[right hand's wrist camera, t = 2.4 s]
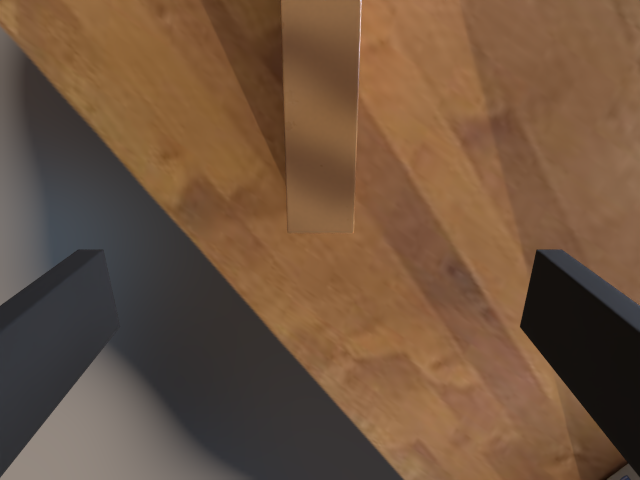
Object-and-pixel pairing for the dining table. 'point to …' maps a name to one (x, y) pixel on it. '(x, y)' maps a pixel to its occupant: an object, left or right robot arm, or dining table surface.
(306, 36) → the post
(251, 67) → the dining table surface
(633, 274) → the dining table surface
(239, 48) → the dining table surface
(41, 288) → the right robot arm
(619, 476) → the hard drive box
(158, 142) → the dining table surface
